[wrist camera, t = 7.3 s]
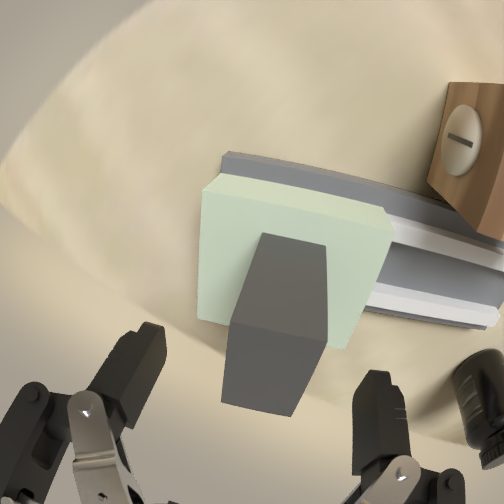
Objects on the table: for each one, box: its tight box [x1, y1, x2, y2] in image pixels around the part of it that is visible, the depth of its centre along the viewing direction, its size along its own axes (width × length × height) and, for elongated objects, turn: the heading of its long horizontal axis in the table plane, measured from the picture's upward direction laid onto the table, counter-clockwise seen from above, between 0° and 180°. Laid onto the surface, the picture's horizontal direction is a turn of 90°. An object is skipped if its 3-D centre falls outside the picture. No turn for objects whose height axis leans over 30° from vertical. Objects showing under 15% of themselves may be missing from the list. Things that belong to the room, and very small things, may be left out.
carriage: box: [197, 173, 395, 417], centre depth 14 cm, size 9×8×9 cm
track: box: [221, 151, 504, 330], centre depth 19 cm, size 24×9×3 cm, turn 82°
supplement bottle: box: [453, 349, 504, 470], centre depth 19 cm, size 7×7×12 cm
